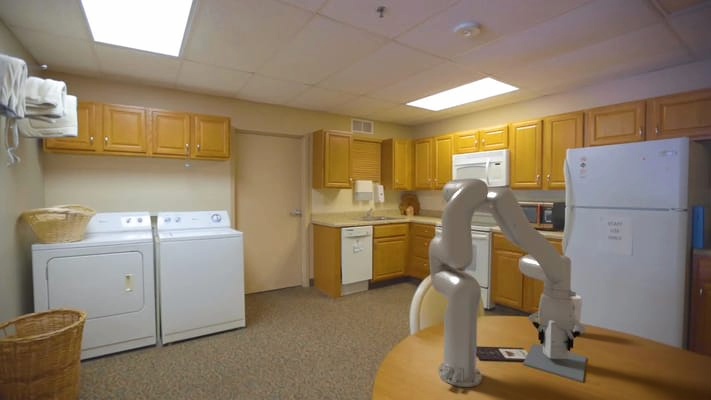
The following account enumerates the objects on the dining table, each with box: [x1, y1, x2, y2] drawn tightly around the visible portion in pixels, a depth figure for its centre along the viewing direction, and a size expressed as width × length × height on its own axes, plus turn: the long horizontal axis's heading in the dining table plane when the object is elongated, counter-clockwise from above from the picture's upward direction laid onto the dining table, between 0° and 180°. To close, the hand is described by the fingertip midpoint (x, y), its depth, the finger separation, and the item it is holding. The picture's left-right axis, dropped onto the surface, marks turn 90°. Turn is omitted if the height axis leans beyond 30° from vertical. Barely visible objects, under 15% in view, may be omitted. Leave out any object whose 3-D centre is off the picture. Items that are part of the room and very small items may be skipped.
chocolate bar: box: [476, 345, 528, 363], centre depth 113 cm, size 9×1×18 cm
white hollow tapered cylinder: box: [570, 294, 583, 332], centre depth 130 cm, size 7×7×15 cm
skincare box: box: [542, 320, 569, 359], centre depth 108 cm, size 6×4×12 cm
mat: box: [522, 342, 587, 383], centre depth 108 cm, size 18×16×1 cm
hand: (555, 345), depth 108 cm, fingers closed on skincare box, 7 cm apart
